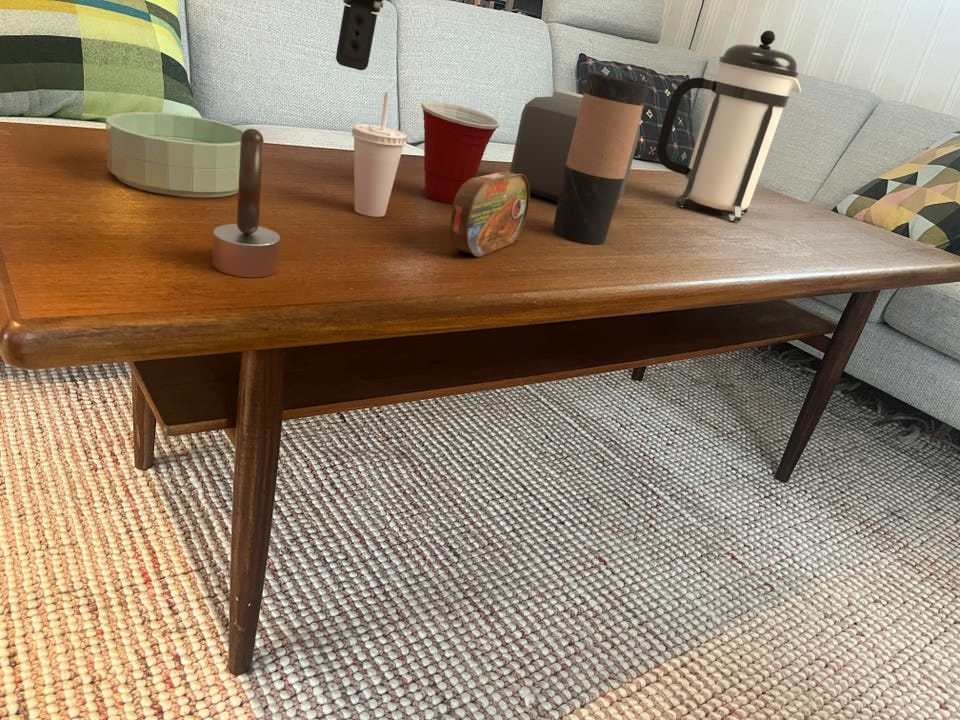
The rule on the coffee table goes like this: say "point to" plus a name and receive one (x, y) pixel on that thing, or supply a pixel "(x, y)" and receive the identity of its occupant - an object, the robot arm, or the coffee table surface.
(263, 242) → the wooden handle stamp
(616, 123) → the travel mug
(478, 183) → the tin
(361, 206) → the smoothie
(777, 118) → the coffee press
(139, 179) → the bowl
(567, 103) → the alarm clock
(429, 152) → the plastic cup
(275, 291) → the coffee table surface
